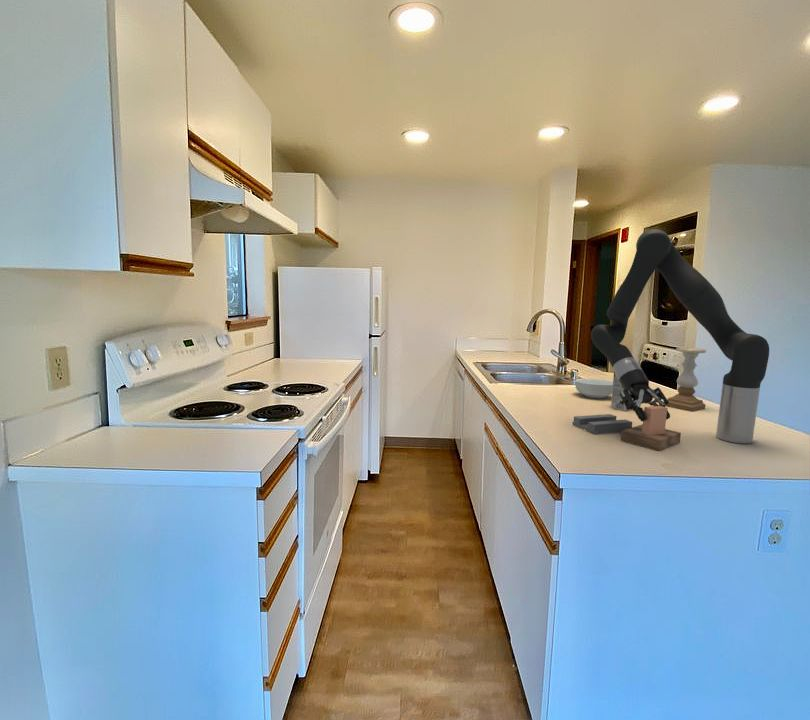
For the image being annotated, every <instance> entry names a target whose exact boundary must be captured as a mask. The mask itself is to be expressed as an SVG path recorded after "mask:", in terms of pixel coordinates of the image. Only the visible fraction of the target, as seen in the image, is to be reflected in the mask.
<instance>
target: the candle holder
mask: <svg viewBox="0 0 810 720" xmlns="http://www.w3.org/2000/svg"><path fill="white" fill-rule="evenodd" d="M675 350H676V351H677V352H680V353H682V356H683V358H684V361H682V363H681V366H682V368H683V371H682V372H681V374H680V375H679V376H678V377H677V379H676V383H677V385H679V387H678V388H677V392H678V393H677V394H675V395H673V396H671V397H668V398H667V400H668V401H669V404H667V405H666V406H665V407H667V408H672V409H677V410H683V411H686V412H687V411H688V412H697V411H700V410H701V411H702V410H705V409H706V404H705V403H704V402H703V399H699V398H697V397H696V396H694V395H695V394H696V390H695V389H694V388H695V387H697V386H698V385H699V380H698V379H697V377H696V374H695V372H694V369H696V367H697V366H698V364H696V358H697V357H699V355H700V354H706V352H707V350H706V349H704V348H693V347H676V348H675Z"/></svg>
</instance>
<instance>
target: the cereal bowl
mask: <svg viewBox="0 0 810 720" xmlns="http://www.w3.org/2000/svg"><path fill="white" fill-rule="evenodd" d="M574 386H575V389H576V391H577V392H578V393H580V394H582V395H584V396H585V397H587V398H589V399H590V398H591V399H600V400H601V399H604V398H606V397H609V396H612V389H613V380H609V379H603V378H588V377H587V378H576V379H575V380H574Z"/></svg>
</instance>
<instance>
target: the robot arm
mask: <svg viewBox="0 0 810 720" xmlns="http://www.w3.org/2000/svg"><path fill="white" fill-rule="evenodd" d="M635 244H636V245H635V247H636V251H635V255H634V257H633V261H632V263H631V267H630V269H629V271H628V272H627V275H626V277H625V278H624V280H623V282H622V283H621V285H620V286H619V288H618V290H617V291H616V293H615V294H614V296H613V299H612V300H611V302H610V304H609V306H608V308H607V311H606V316H607V317H608V319H609V320H611V322H610V324H596V325H595V326H594V327H593V328H592V330H591V332H590V333H591V334H590V338H591V342H592V343H593V345H594V346H595V347H596V348H597V350H599V351H600V353H602V354H603V355H604V356H605V357H606V358H607V360H608V363H610V366H611V367H612V369H613V373H614V372H615V374H616V376H617V378H618V380H619V382H620V383H621V385H622V387H623V389H624V390H623V391H622V392H621V393H620V396H621V398H622V400H623V402H624V404H625V406H626V408H627V409H628V411H631V410H632V411H633V412H635V415H636V416H637V418H638V420H640V422H643V421H645V420H647V418H648V417H647V416H646V414H645V412H644V409H643V407H642V406H641V405H642V404H648V405H650V406H663V407H667V406H666V405H667V404H669V401H668V398H667V397H666V395H665V393H664V392H663V391H662V390H661V388H660V387H656V388H654V389H653V388H651V387H650V381H649V379H648V377H647V375H646V374H645V372H644V370H643V369H642V367H641V365H640V364H639V362H638V361H637V360H636V359H635V357H634V356H633V354H632V352H631V351H630V349H629V348H628V347H627V346H626V345H624V344H621V343H622V342H623V341H624V338H625V336H626V332H627V328H628V322H629V318H630V316H631V315H632V314H633V311H634V309H635V307H636V305H637V303H638V302H639V300H640V297H641V295H642V293H643V291H644V289H645V287H646V286H647V283H648V282H649V280H650V279H651V277H652V275H653V273H654V272H655V271H656V270H657V271H658V272H659V273H660V274H661V275H662V277H663V278H664V280H665V281H666V283H667V285H668V286H669V288H670V290H671V292H672V293H673V294H674V295H675V297H676V299H677V300H678V301H679V303H680V304H682V306H683V307H684V308H685V309H686V310H687V311H688V312H689V314H691V316H692V317H693V318H694V319H695V320H696V321H697V322H698V323H699V324H700V325H701V326H702V327H703V328H704V329H705V330H706V331H707V332H708V333H709V335H710V337H712V339H713V341H714V342H715V344H716V345H717V346H718V348H719V350H721V353H723V355H724V356H725V357H726V358H727V359H728V360H730V361H732V362H731V368H730V370H729V372H728V373H726V374H724V375H723V377H722V384H721V385H722V386H721V395H720V402H719V403H720V404H719V409H718V410H719V411H718V418H717V424H716V426H717V427H716V433H715V437H716V438H718V439H720V440H722V441H726V442H730V443H733V444H734V443H735V444H746V445H747V443H748V444H752V443H753V441H754V440H753V439H754V434H755V427H756V420H757V412H758V405H759V399H760V398H759V397H760V389H761V384H762V382H763V380H764V379H765V376H766V372H767V368H768V362H769V358H770V344H769V343H768V341H767V339H766V338H765V337H763V336H761V335H759V334H756V333H755V334H754V333H748V332H746V331H744V330H743V329H742V328H741V327H740V326H738V324H737V323H736V322H735V321H734V320H733V319H732V318H731V317H730V314H729V312H728V310H727V307H726V304H725V301H724V300H723V298H722V296H721V294H720V293H719V291H718V290H717V289H716V288H715V287H714V286H713V285H712V284H711V283H710V281H709V280H708V279H707V278H705V276H704V275H703V274H702V273H701V272H700V271H698V270H697V269H696V268H695V267H694V266H692V264H690V263H689V262H688V261H687V260H686V259H685V258H684V257H683V256H682V255H681V254H680V251H678V249H677V248H676V246H675V245H674V243H673V242H672V240H671V238H670V236H669V235H668V234H667V233H666V231H664V230H663V229H658V228H652V229H651V228H650V229H648V230H645V231H643V232H642V233H641V234H640V235H639V237H638V239H637V241H636V243H635ZM628 401H629V403H630V404H629V403H628ZM630 409H631V410H630ZM670 418H671V414H670V412H669V411H668V409H667V416H666V421H667V420H669V419H670Z"/></svg>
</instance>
